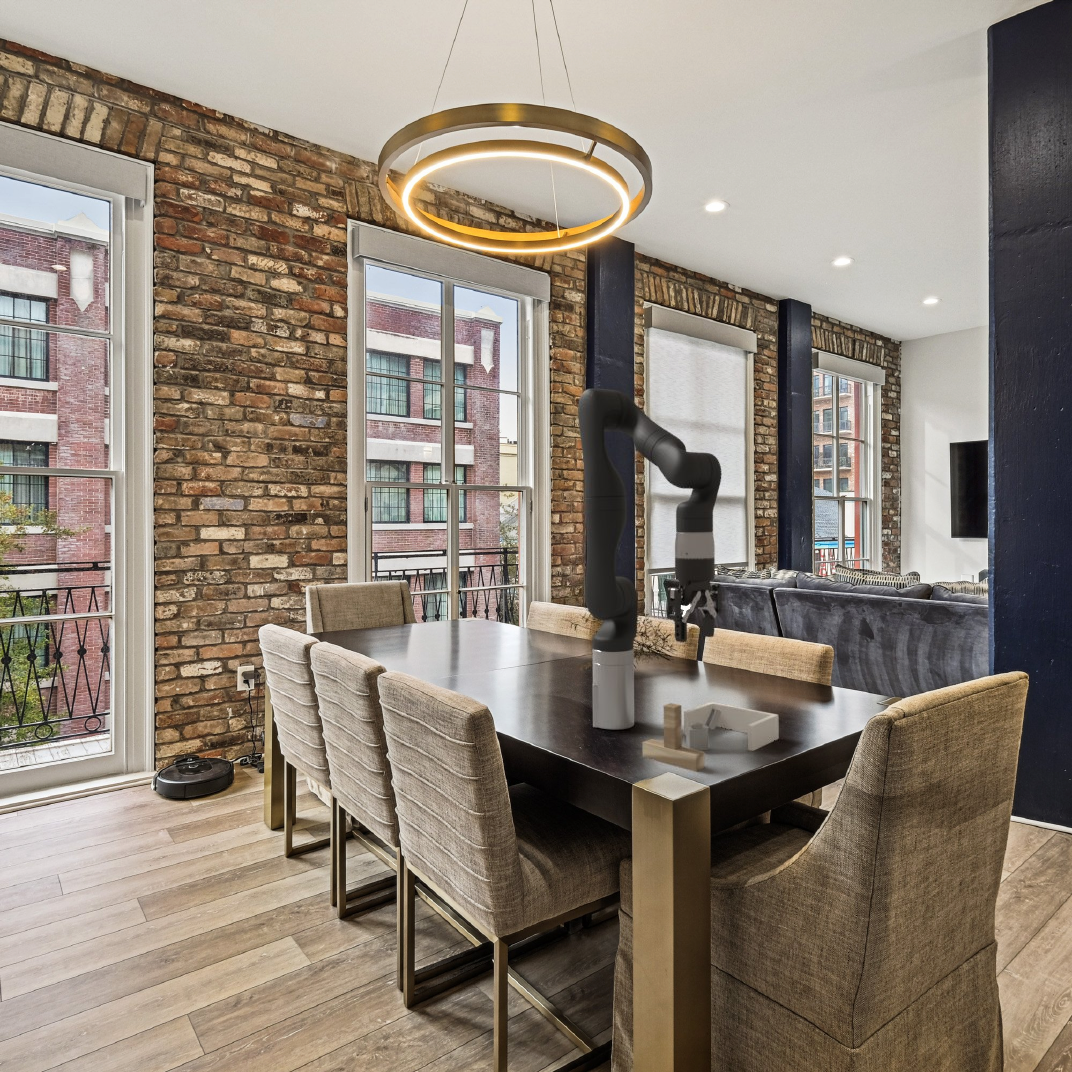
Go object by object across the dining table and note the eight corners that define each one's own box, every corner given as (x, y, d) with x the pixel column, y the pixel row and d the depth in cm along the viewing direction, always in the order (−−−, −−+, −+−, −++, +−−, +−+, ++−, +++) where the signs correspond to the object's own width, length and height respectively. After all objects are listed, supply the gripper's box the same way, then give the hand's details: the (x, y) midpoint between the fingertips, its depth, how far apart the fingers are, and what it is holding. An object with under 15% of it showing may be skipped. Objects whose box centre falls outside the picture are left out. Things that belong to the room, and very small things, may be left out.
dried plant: (667, 606, 236) (550, 553, 220) (723, 628, 207) (593, 568, 191) (630, 693, 235) (509, 646, 219) (681, 727, 206) (546, 675, 190)
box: (752, 750, 145) (752, 726, 145) (684, 734, 156) (683, 711, 156) (778, 738, 153) (778, 714, 153) (711, 724, 164) (711, 701, 164)
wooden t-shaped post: (695, 772, 134) (695, 712, 134) (642, 757, 143) (642, 701, 142) (704, 767, 136) (704, 709, 136) (651, 753, 145) (651, 698, 144)
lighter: (690, 751, 145) (689, 711, 145) (686, 748, 147) (685, 709, 147) (721, 748, 147) (721, 708, 147) (717, 745, 149) (717, 706, 149)
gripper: (687, 558, 134) (687, 646, 134) (732, 554, 143) (732, 637, 144) (655, 556, 140) (656, 641, 140) (701, 553, 149) (701, 632, 149)
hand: (695, 639), depth 142 cm, fingers open, 8 cm apart
